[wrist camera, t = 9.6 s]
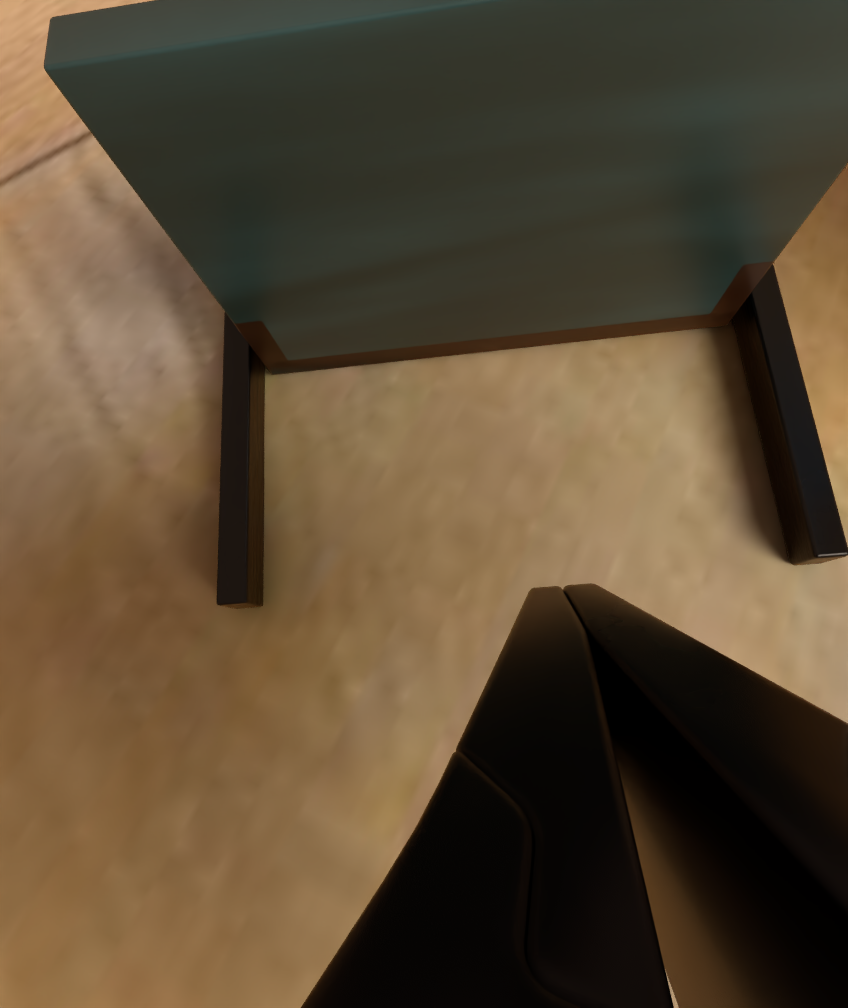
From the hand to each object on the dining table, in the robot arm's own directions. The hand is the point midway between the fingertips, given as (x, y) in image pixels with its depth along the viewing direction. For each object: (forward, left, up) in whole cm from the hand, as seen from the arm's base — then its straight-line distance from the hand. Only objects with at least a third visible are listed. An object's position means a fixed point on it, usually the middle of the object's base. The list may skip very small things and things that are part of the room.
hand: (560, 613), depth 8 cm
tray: (+11, -11, -7) cm, 17 cm away
